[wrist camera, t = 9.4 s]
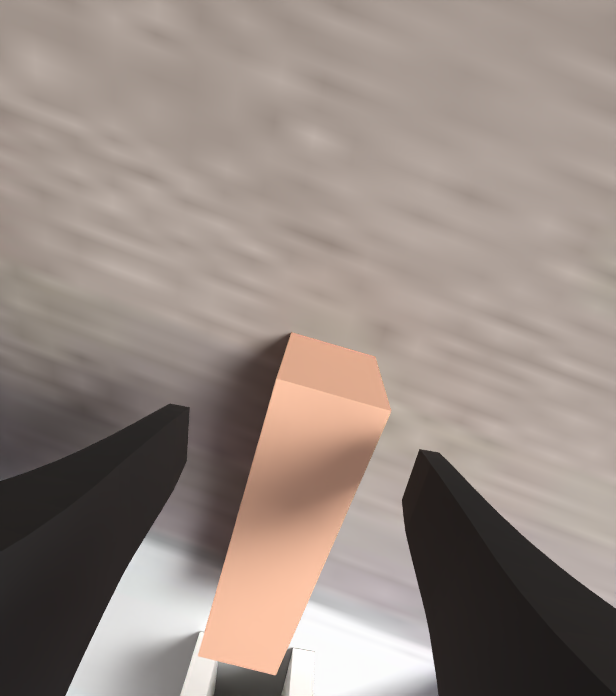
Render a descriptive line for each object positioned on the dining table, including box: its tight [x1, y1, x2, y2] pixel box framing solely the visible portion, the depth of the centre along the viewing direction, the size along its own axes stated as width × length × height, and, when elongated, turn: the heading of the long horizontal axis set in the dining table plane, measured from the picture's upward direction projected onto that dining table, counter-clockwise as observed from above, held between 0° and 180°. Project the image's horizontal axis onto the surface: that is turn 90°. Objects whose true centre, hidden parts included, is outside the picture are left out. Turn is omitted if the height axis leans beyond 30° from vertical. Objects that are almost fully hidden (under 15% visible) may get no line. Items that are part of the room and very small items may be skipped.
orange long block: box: [198, 332, 391, 675], centre depth 17 cm, size 4×16×5 cm, turn 164°
